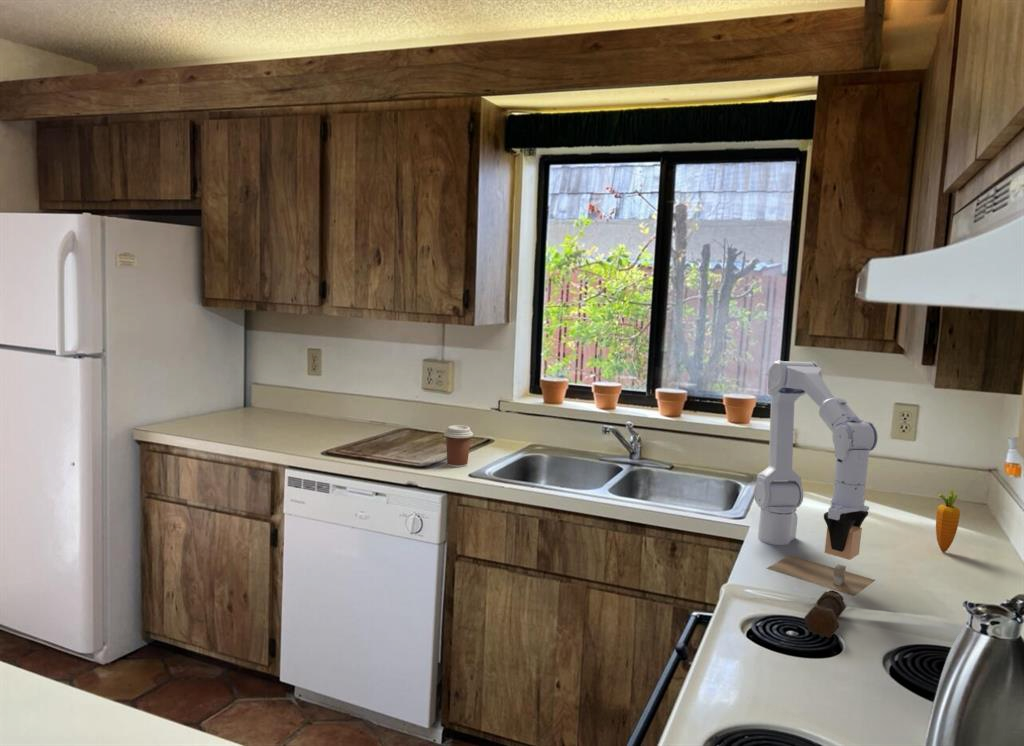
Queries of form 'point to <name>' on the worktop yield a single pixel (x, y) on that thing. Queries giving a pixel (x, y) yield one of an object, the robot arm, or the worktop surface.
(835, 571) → the board
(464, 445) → the coffee cup
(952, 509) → the carrot
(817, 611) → the bolt
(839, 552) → the salmon orange block
